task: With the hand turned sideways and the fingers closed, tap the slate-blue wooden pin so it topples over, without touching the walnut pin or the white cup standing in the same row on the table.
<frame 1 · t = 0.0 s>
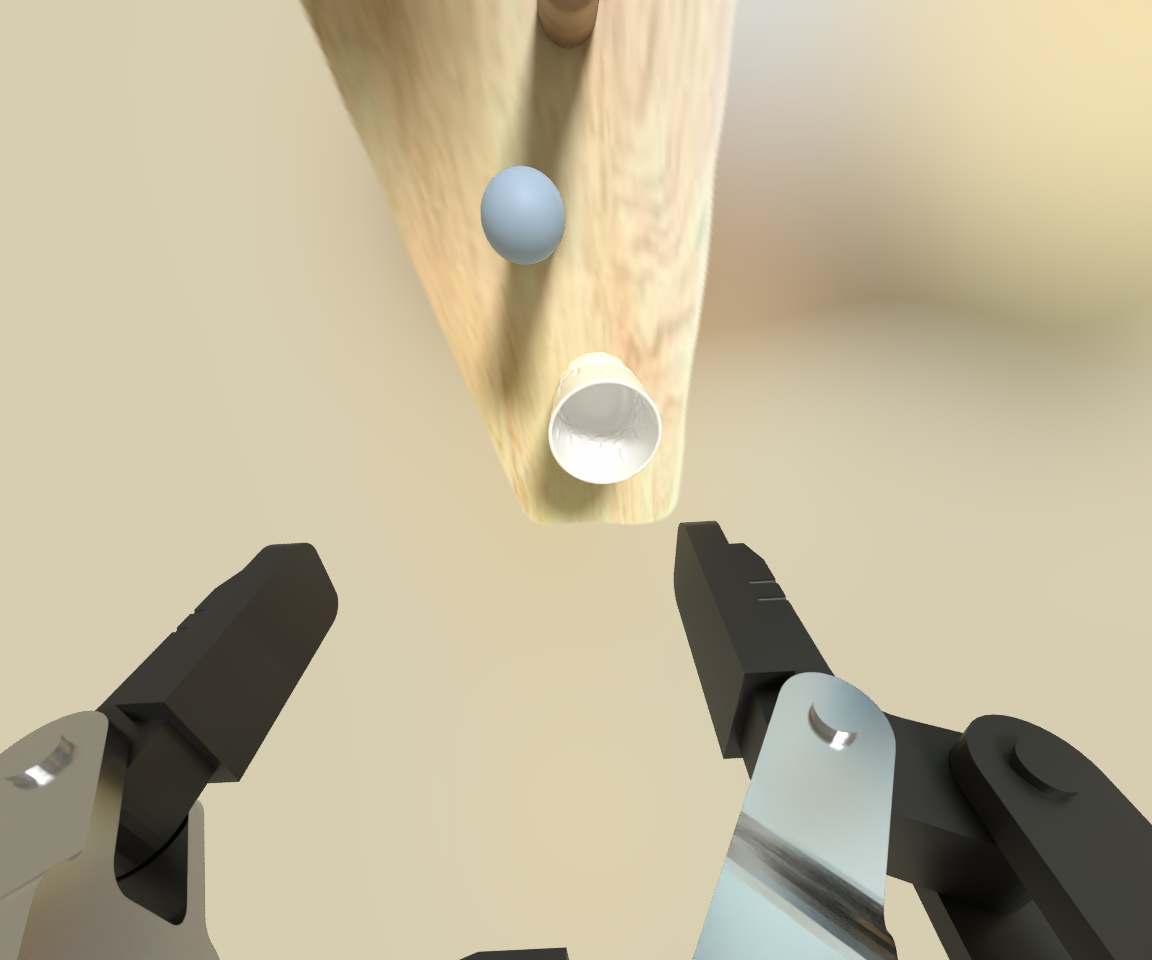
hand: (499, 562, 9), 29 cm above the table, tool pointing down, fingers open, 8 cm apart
walnut pin: (567, 6, 25), on the table
white cup: (595, 388, 38), on the table
blue pin: (536, 222, 31), on the table
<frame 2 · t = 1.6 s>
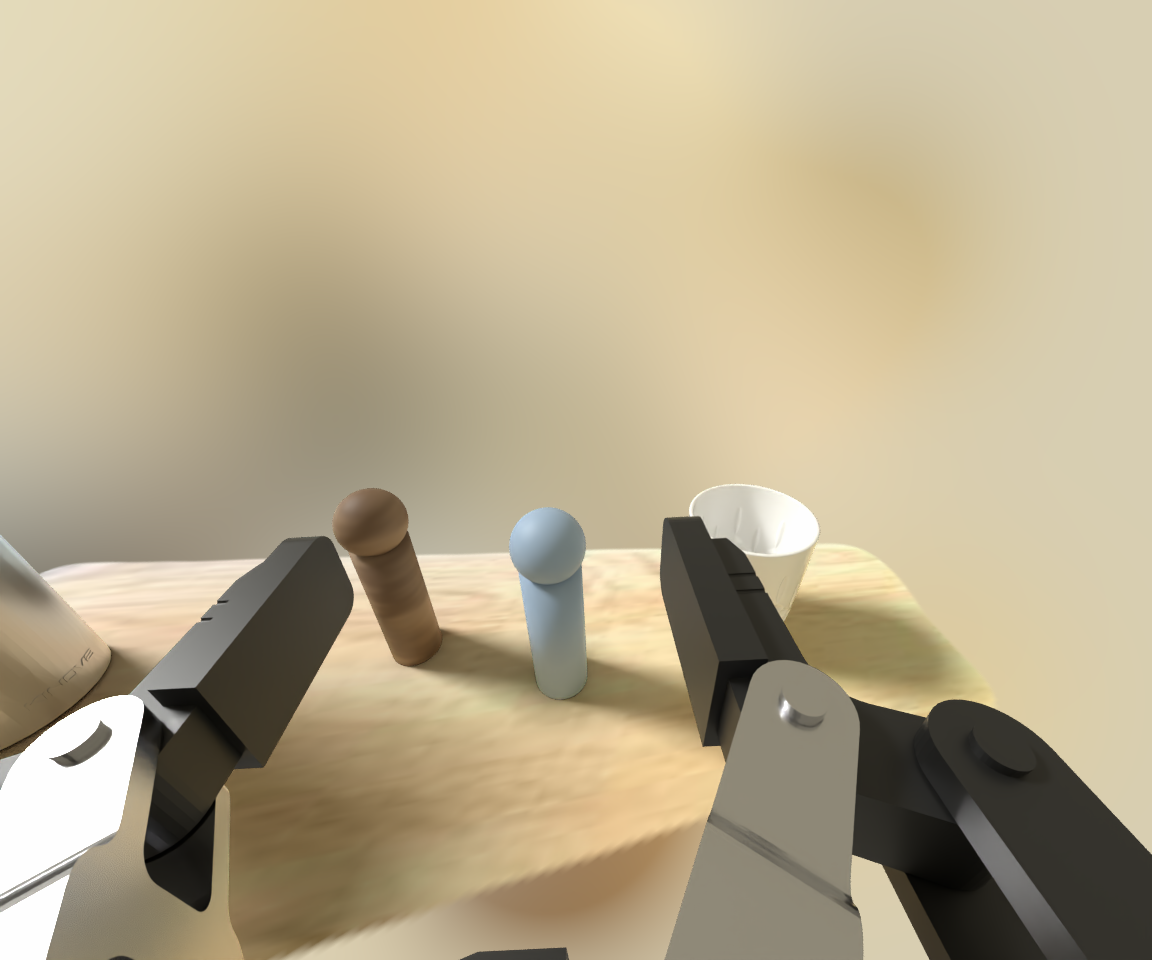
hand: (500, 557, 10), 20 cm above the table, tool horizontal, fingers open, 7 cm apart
walnut pin: (417, 644, 32), on the table
white cup: (729, 621, 33), on the table
blue pin: (561, 674, 29), on the table
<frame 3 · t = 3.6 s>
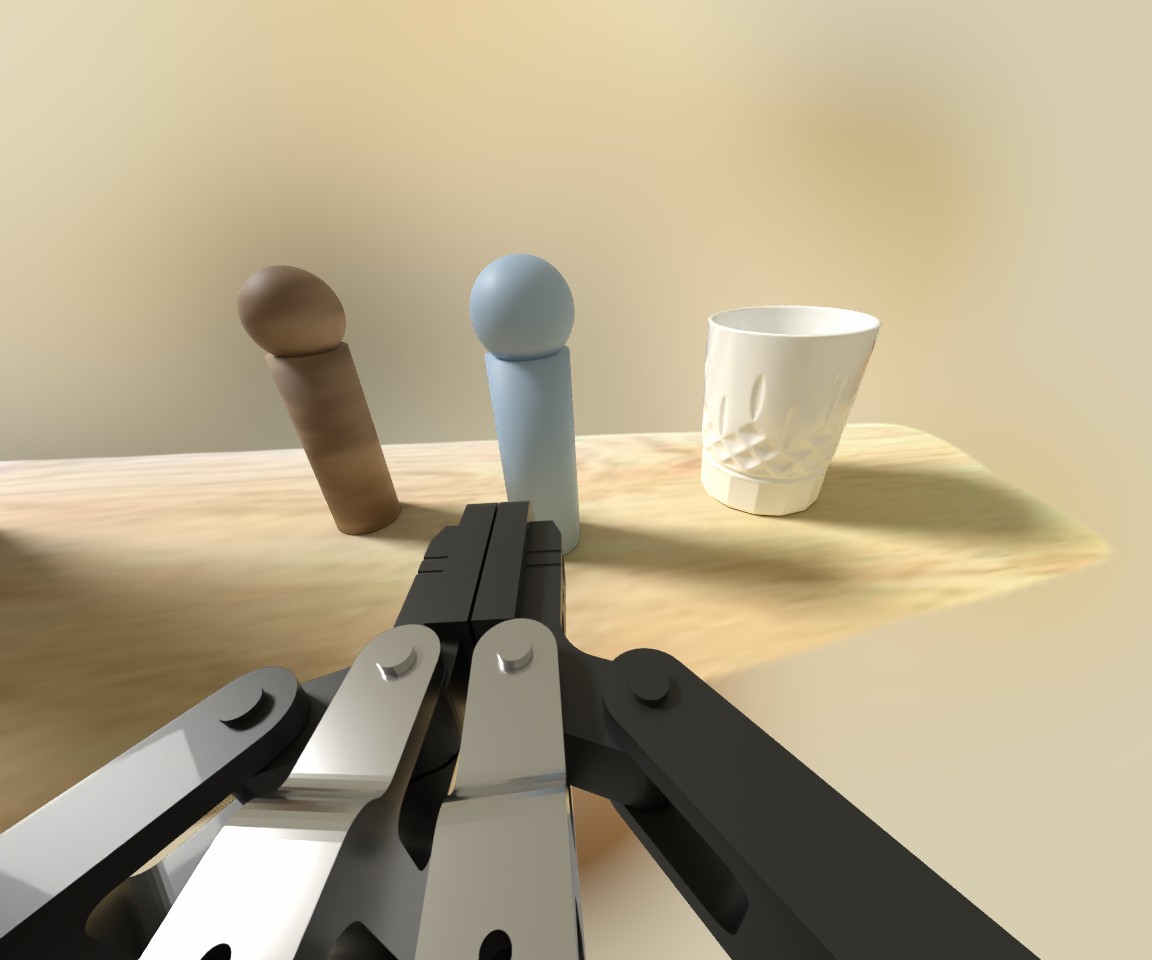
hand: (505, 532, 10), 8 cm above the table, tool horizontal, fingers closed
walnut pin: (369, 516, 26), on the table
white cup: (755, 488, 26), on the table
blue pin: (547, 537, 23), on the table
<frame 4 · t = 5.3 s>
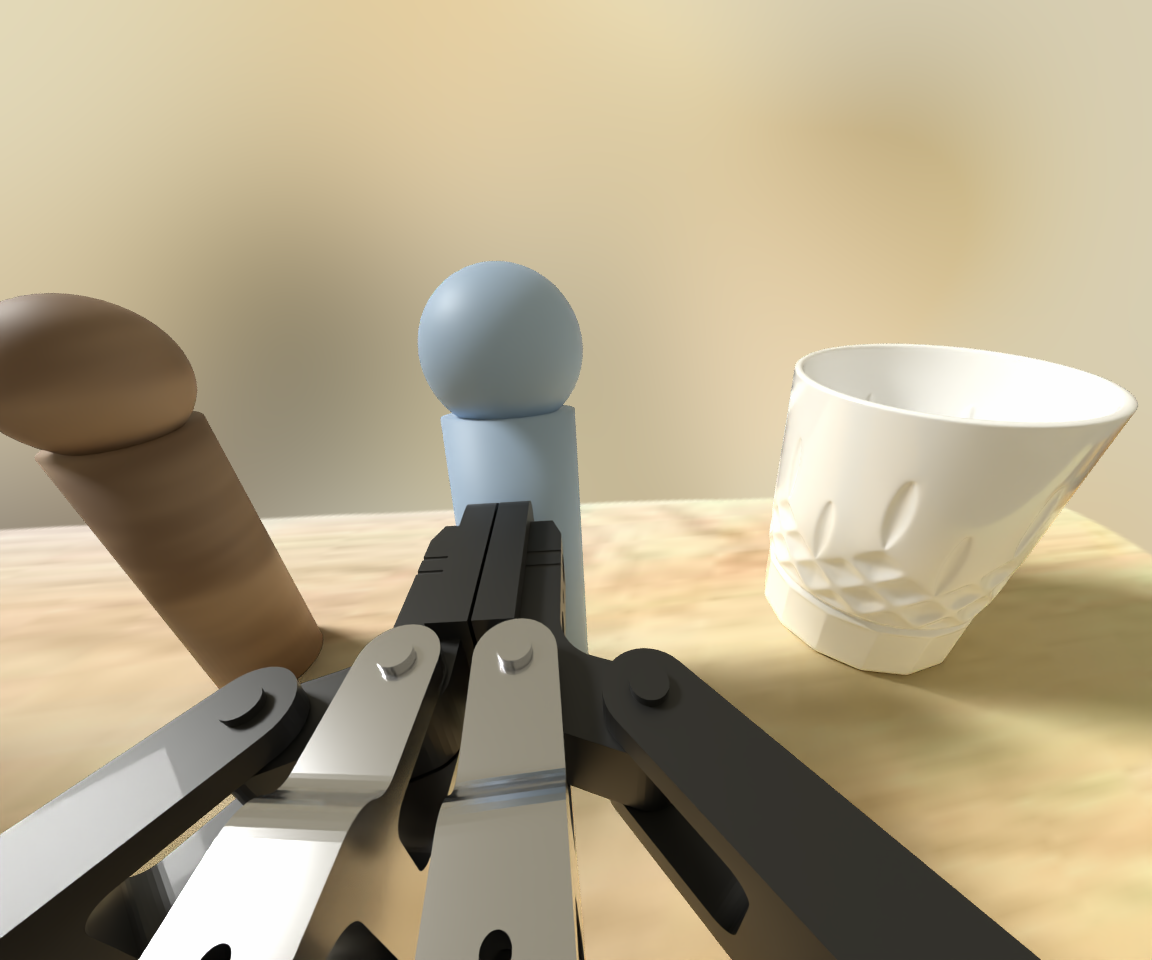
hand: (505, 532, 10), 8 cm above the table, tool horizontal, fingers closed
walnut pin: (273, 658, 17), on the table
white cup: (847, 608, 18), on the table
blue pin: (538, 706, 14), on the table, tilted 14°, touching gripper
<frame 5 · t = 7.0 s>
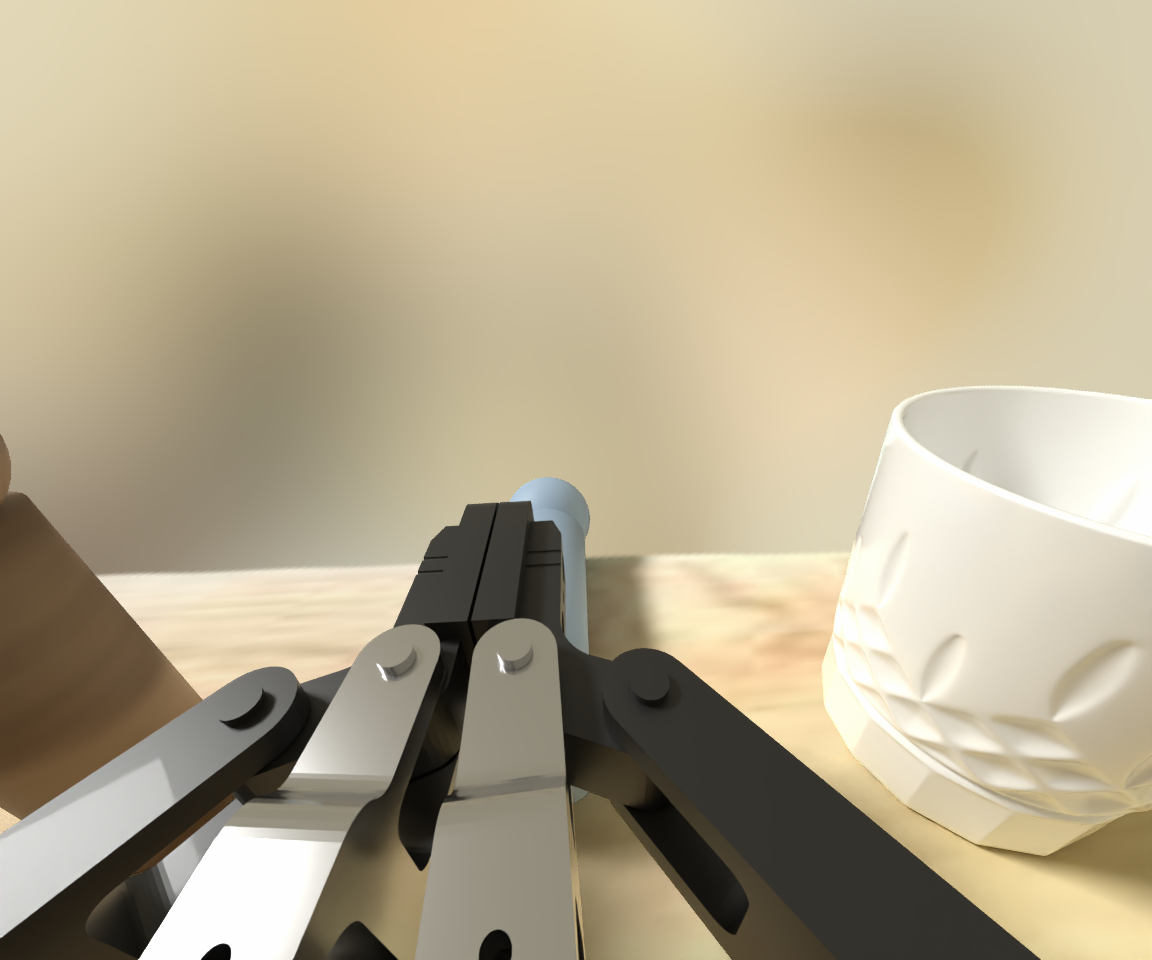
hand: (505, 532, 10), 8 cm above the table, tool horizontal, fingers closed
walnut pin: (176, 797, 13), on the table
white cup: (934, 727, 14), on the table
blue pin: (525, 782, 11), point 2 cm above the table, tilted 89°
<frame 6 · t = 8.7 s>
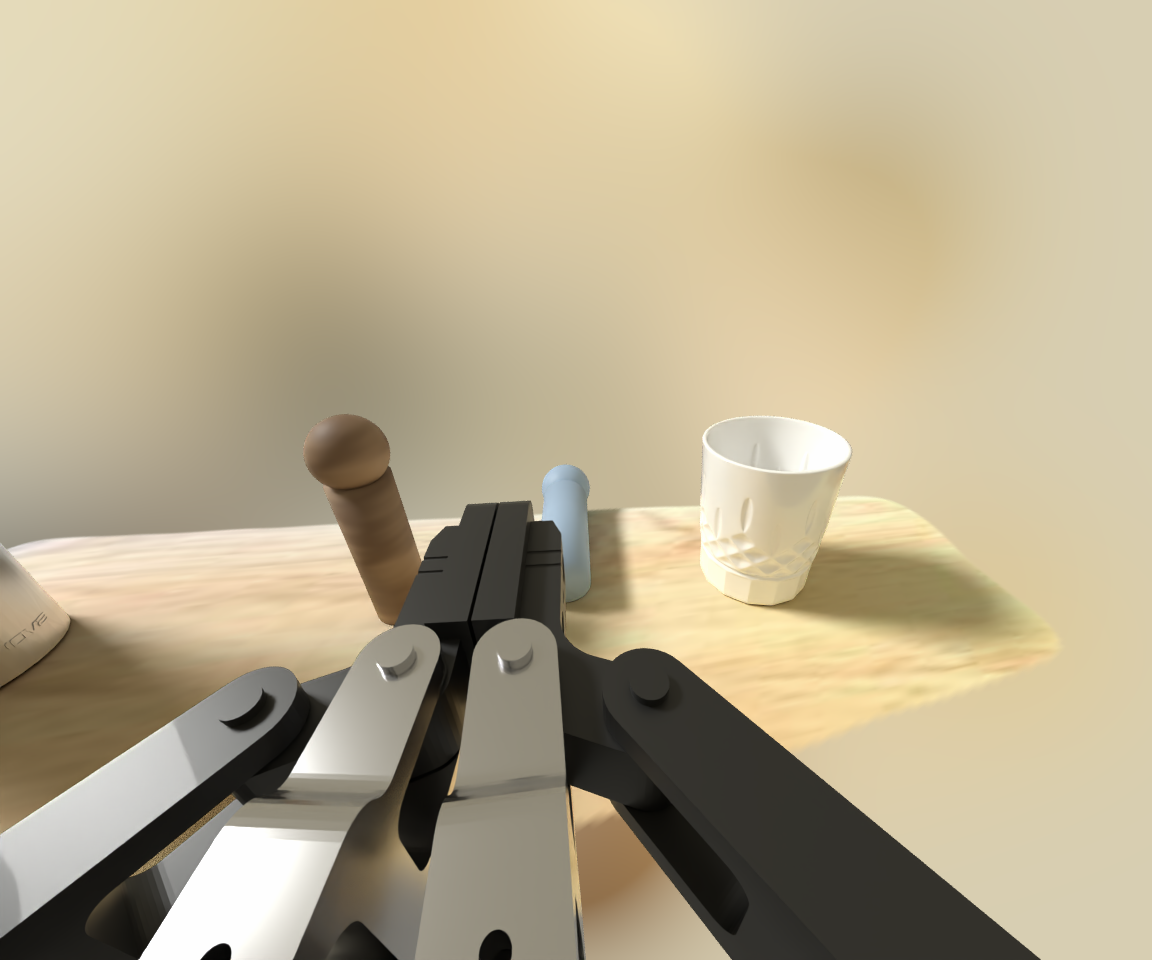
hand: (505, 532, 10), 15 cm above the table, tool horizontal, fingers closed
walnut pin: (405, 604, 29), on the table
white cup: (749, 572, 29), on the table
blue pin: (563, 582, 27), point 2 cm above the table, tilted 89°
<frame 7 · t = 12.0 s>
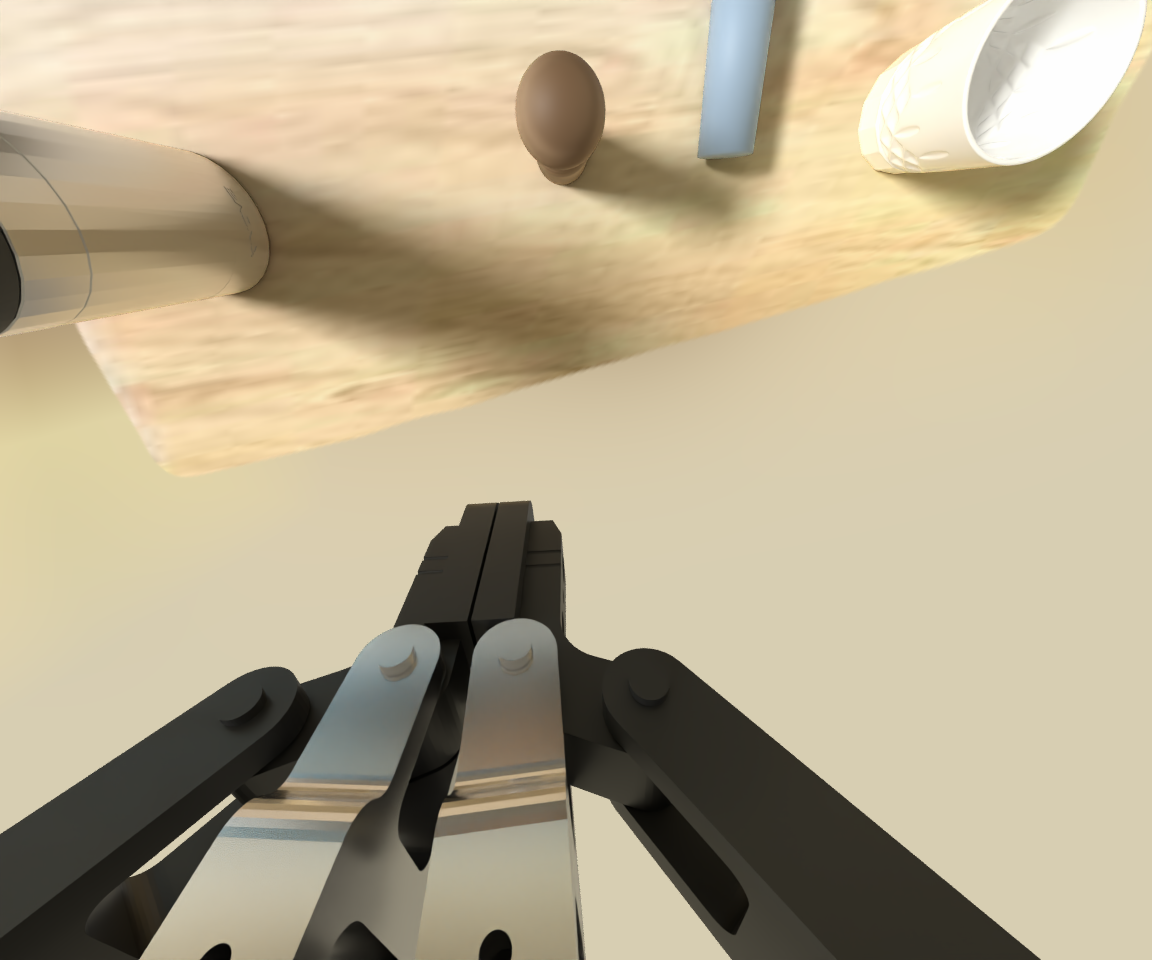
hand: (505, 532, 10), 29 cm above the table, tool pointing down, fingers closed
walnut pin: (561, 153, 30), on the table
white cup: (905, 114, 29), on the table
blue pin: (724, 155, 28), point 2 cm above the table, tilted 89°
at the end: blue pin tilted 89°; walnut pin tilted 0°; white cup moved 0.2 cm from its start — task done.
